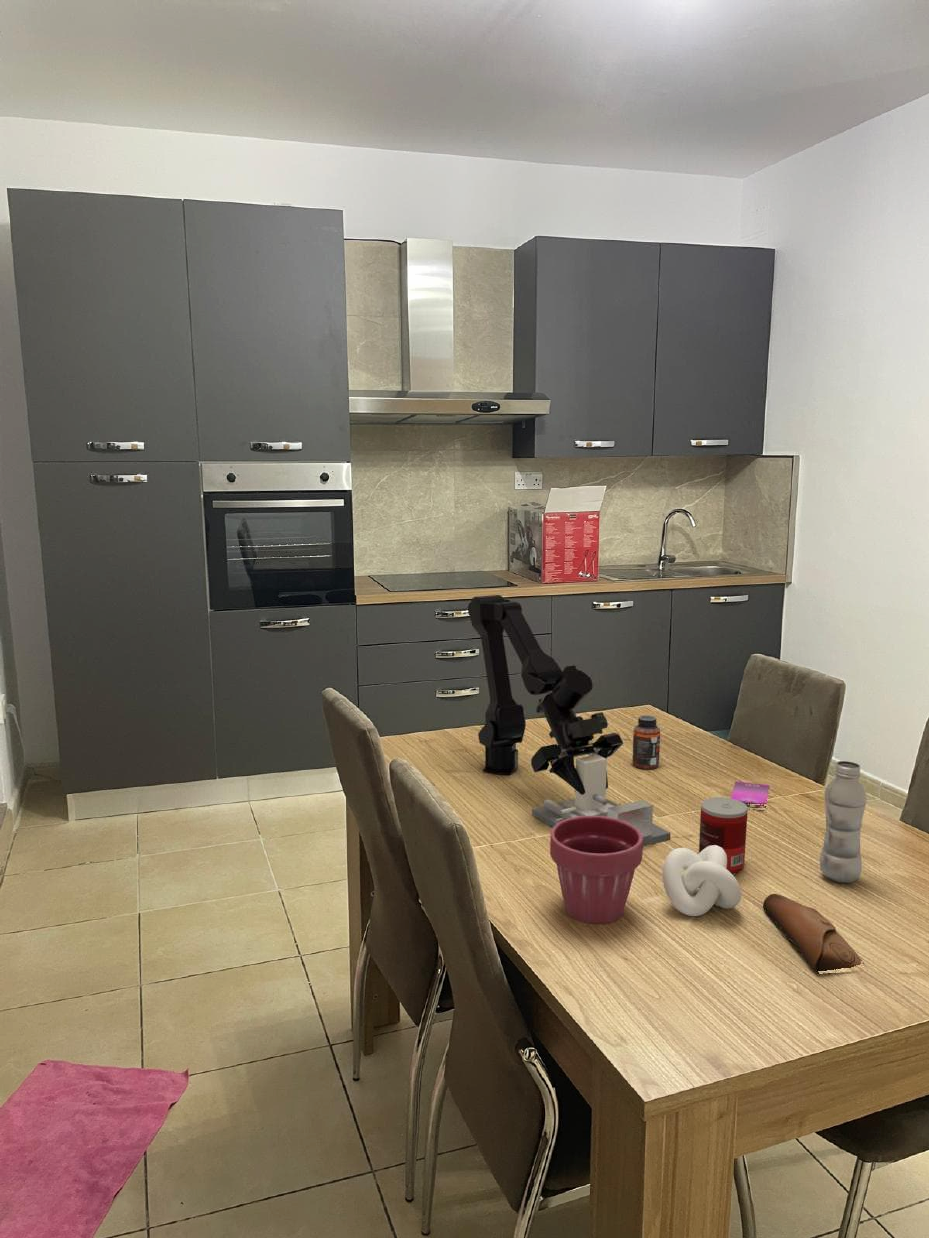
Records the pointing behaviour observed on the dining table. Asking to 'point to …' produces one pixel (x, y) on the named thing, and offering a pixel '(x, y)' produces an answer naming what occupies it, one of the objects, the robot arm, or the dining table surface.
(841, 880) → the plastic bottle
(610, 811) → the grey block with recess
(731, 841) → the canned food
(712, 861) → the white knot sculpture
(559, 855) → the plant pot
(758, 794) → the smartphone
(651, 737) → the supplement bottle
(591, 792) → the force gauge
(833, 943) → the sunglasses case
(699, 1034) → the dining table surface
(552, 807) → the track
